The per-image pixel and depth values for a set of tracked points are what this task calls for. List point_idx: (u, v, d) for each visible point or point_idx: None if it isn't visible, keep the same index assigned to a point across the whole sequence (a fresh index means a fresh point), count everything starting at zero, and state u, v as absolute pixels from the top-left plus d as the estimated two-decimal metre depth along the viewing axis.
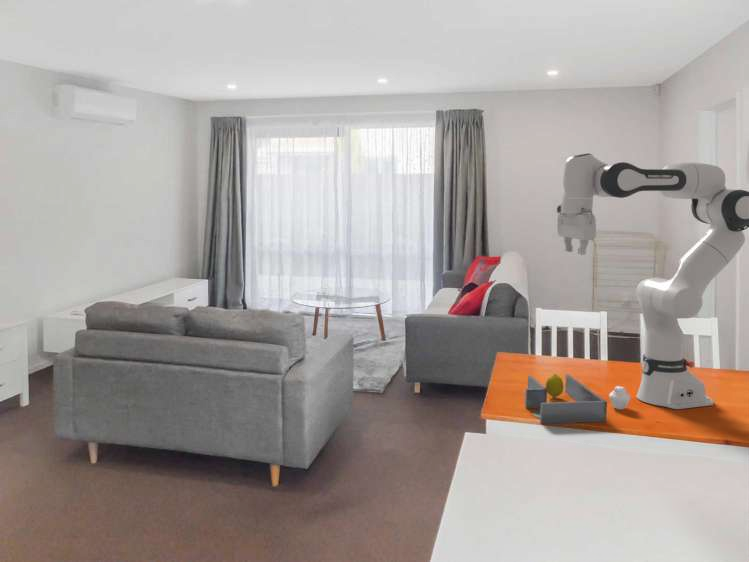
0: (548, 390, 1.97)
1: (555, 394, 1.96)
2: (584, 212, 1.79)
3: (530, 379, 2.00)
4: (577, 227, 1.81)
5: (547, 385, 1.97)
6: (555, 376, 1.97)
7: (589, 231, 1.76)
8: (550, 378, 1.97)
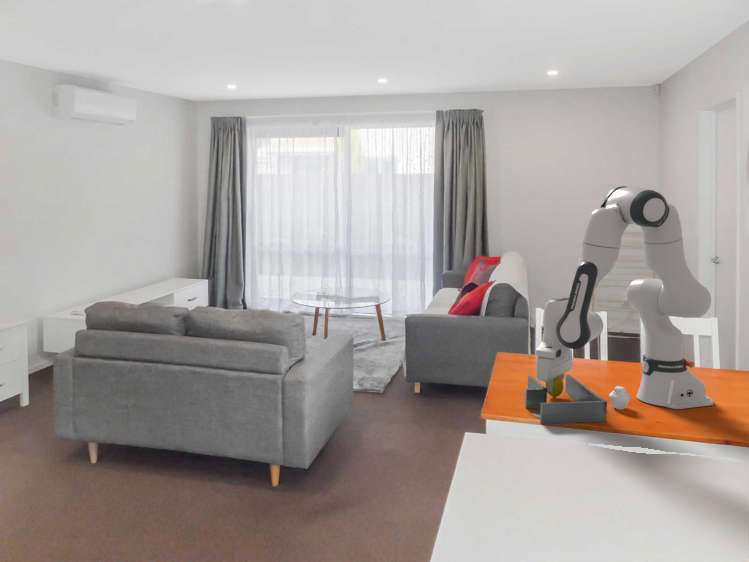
0: None
1: (555, 394, 1.96)
2: None
3: (530, 379, 2.00)
4: (566, 362, 1.99)
5: None
6: None
7: None
8: None
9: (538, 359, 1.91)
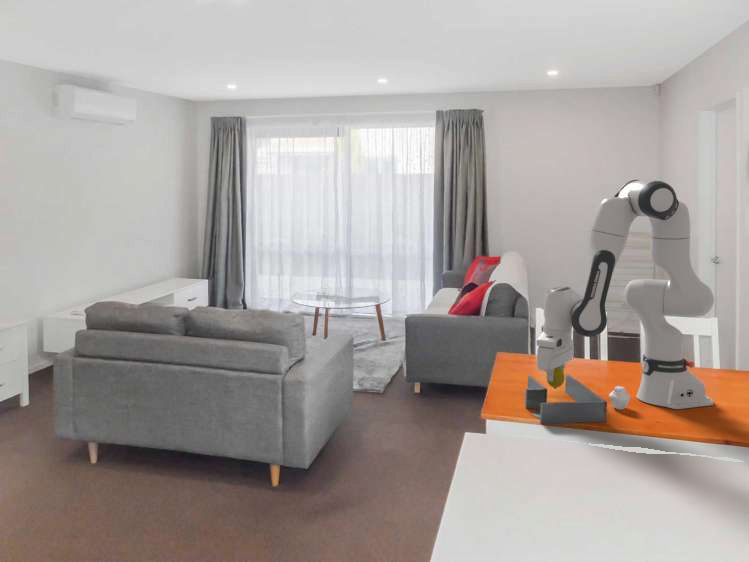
0: None
1: (556, 385, 1.95)
2: None
3: (530, 379, 2.00)
4: (567, 352, 1.99)
5: None
6: None
7: None
8: None
9: (539, 349, 1.90)
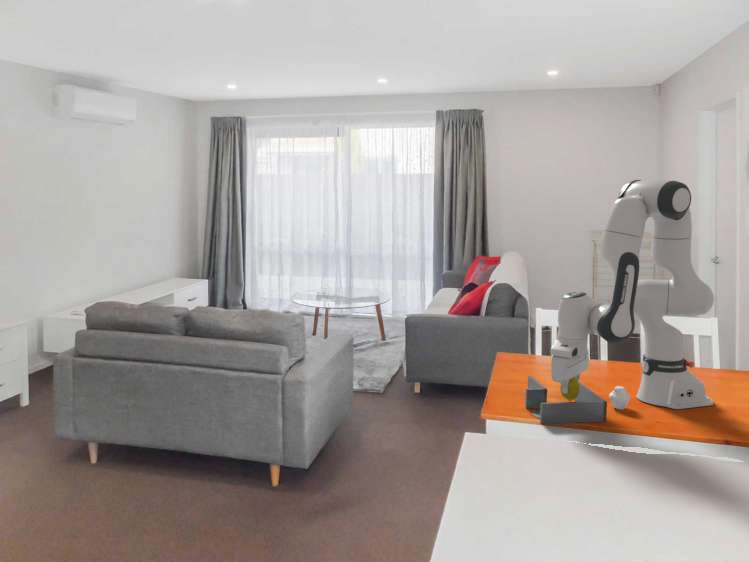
0: (563, 393, 1.84)
1: (571, 397, 1.84)
2: None
3: (530, 379, 2.00)
4: (583, 361, 1.87)
5: None
6: None
7: None
8: None
9: (553, 358, 1.78)
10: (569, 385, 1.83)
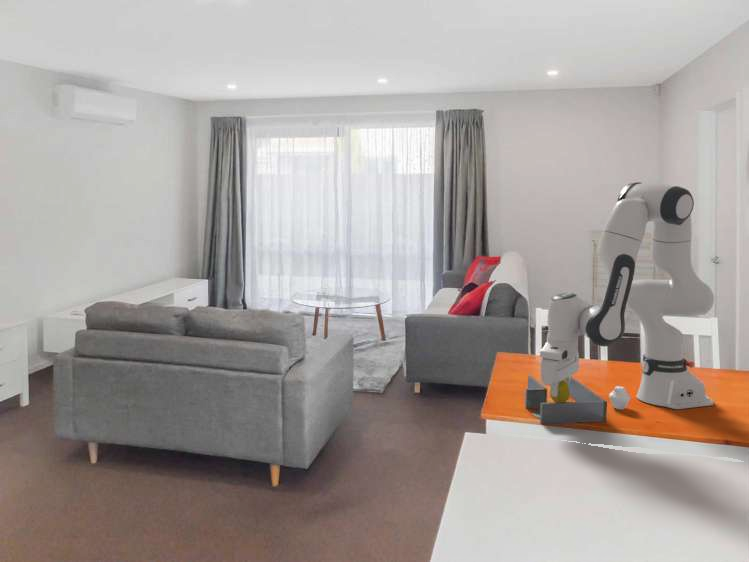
0: (553, 397, 1.81)
1: (561, 401, 1.80)
2: None
3: (530, 379, 2.00)
4: (573, 364, 1.83)
5: None
6: None
7: None
8: None
9: (542, 361, 1.75)
10: (559, 389, 1.79)
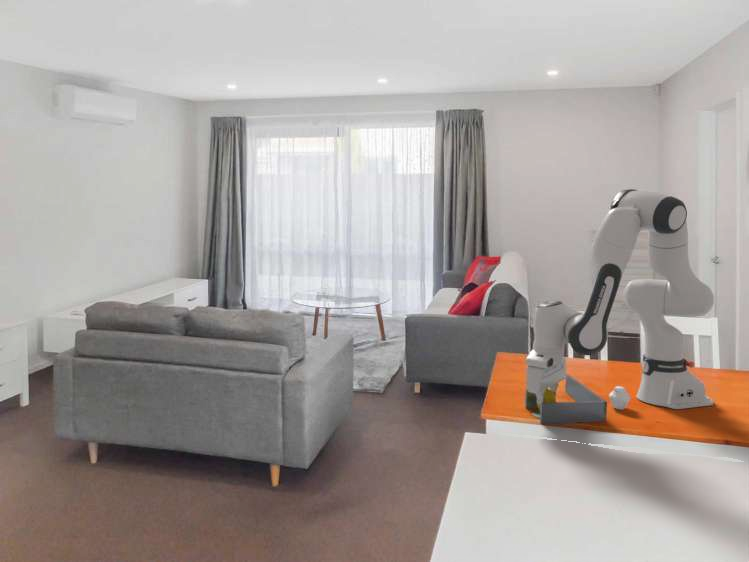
0: (539, 406, 1.81)
1: None
2: None
3: None
4: (559, 371, 1.84)
5: None
6: (547, 390, 1.81)
7: None
8: None
9: (528, 368, 1.75)
10: (545, 398, 1.80)
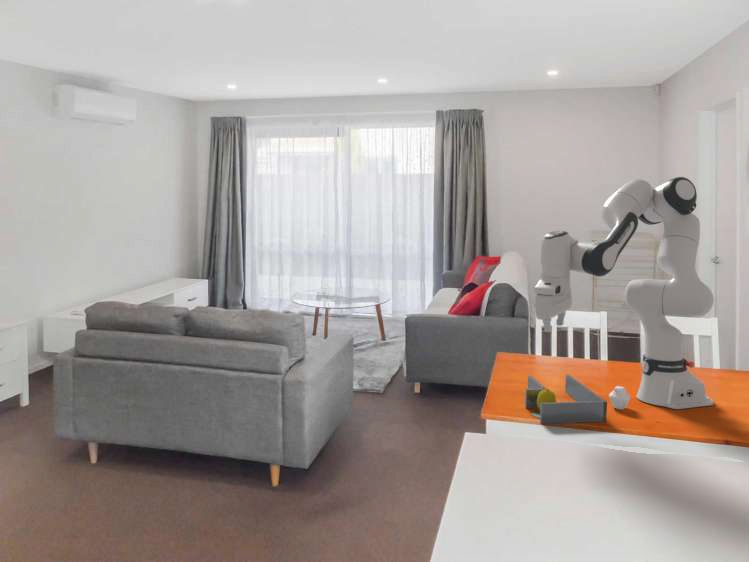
0: (540, 406, 1.81)
1: None
2: None
3: (530, 379, 2.00)
4: (566, 300, 1.90)
5: (538, 400, 1.81)
6: (547, 391, 1.81)
7: None
8: (542, 393, 1.81)
9: (537, 296, 1.81)
10: (545, 398, 1.80)
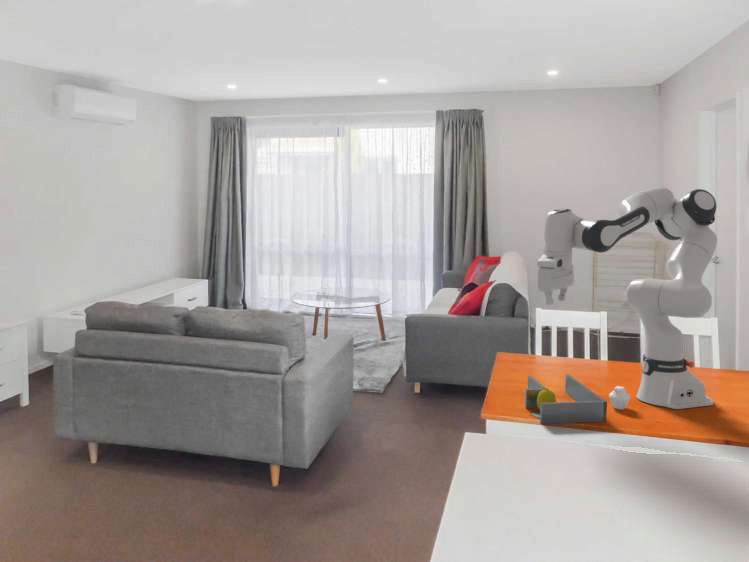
0: (540, 406, 1.81)
1: None
2: None
3: (530, 379, 2.00)
4: (568, 276, 1.99)
5: (538, 400, 1.81)
6: (547, 391, 1.81)
7: None
8: (542, 393, 1.81)
9: (539, 269, 1.90)
10: (545, 398, 1.80)
